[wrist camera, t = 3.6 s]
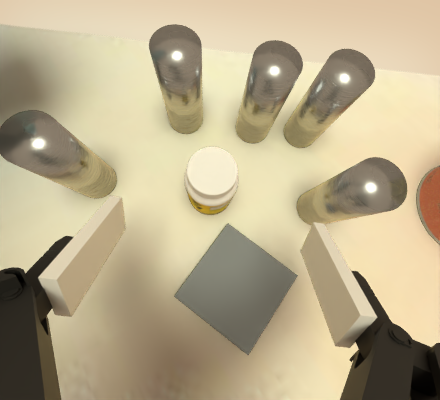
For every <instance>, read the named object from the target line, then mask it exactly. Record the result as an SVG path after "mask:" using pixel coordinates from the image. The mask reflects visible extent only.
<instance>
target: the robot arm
mask: <svg viewBox="0 0 440 400" xmlns="http://www.w3.org/2000/svg"><path fill="white" fill-rule="evenodd" d="M125 229H126V227H125V219H124V210H123V202H122V197H117V196H110V197H109V198H108V199H107V200H106V201H105V202H104V203H103V204H102V206H101V207H100V208H99V209H98V210H97V211H96V212H95V214H94V215H93V216H92V217H91V218H90V219H89V220H88V221H87V223H86V224H85V225H84V226H83V227H82V228H81V229H80V231H79V232H78V233H77V234H76V235H75V236H74V237H71V236H65V237H63V238H61V239H60V240H58V241H56V242H55V243H54V244H53V245H52V246H51V247H50V249H49V251H47V252H46V253H45V254H44V255H43V257H41V258H40V259H39V260H38V261H37V262H36V263H35V264H34V265H33V266H32V267H31V268H30V269H29V270H28V272H27V273H26V274H25V272H24V270H23V269H21V268H8V269H4V270H1V271H0V400H61V396H60V390H59V383H58V377H57V371H56V365H55V359H54V352H53V346H52V340H51V334H50V327H49V321H48V318H47V314H48V313H49V312H50V310H51V309H53V311H54V313H55V315H61V316H70V317H71V316H72V315H73V313H74V312H75V310H76V308H77V307H78V305H79V304H80V302H81V300H82V299H83V297H84V295H85V294H86V292H87V291H88V289H89V287H90V286H91V284H92V283H93V281H94V279H95V278H96V276H97V274H98V273H99V271H100V270H101V268H102V266H103V265H104V263H105V261H106V260H107V258H108V257H109V255H110V253H111V252H112V250H113V249H114V247H115V245H116V244H117V242H118V240H119V239H120V237H121V236H122V234H123V232H124V231H125ZM301 254H302V256H303V259H304V262H305V265H306V267H307V270H308V273H309V275H310V278H311V281H312V284H313V286H314V289H315V292H316V295H317V297H318V300H319V303H320V306H321V308H322V311H323V314H324V317H325V319H326V322H327V325H328V328H329V330H330V333H331V336H332V339H333V341H334V344H335V346H339V347H348V348H350V347H351V346H352V345H353V344H354V343H355V342H356V344H357V346H358V348H359V350H358V351H357V352H356V353H355V354H354V355H353V356H352V357H351V358H350V361H351V362H352V361H353V363H352V366H351V369H350V372H349V375H348V378H347V381H346V384H345V387H344V390H343V393H342V395H341V398H340V400H440V343H436V344H435V345H434V346H433V347H429V346H427V345H425V344H422V343H420V342H417V341H415V340H413V339H412V338H411V337H410V335H409V334H408V333H407V332H406V331H405V330H403V329H402V328H401V327H400V326H398V325H396V324H394V323H392V322H391V320H390V319H389V317H388V315H387V314H386V312H385V310H384V309H383V307H382V306H381V304H380V302H379V301H378V299H377V297H376V296H375V294H374V293H373V291H372V289H370V286H369V284H368V283H367V281H366V279H365V278H364V277H363V276H362V275H361V274H359V273H358V272H357V271H351V270H350V268H349V266H348V265H347V263H346V261H345V259H344V258H343V256H342V254H341V252H340V251H339V249H338V247H337V245H336V244H335V242H334V240H333V238H332V237H331V235H330V233H329V231H328V229H327V228H326V226H325V224H323V223H315V222H313V224H312V226H311V229H310V231H309V233H308V235H307V238H306V240H305V242H304V244H303V247H302V249H301Z"/></svg>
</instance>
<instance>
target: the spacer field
mask: <svg viewBox="0 0 440 400" xmlns="http://www.w3.org/2000/svg"><path fill="white" fill-rule="evenodd" d="M149 49H150V53H151V57H152V60H153V64H154V67H155V71H156V74H157V78H158V82H159V85H160V89H161V92H162V96H163V99H164V103H165V107H166V110H167V114H168V117H169V121H170V124H171V126H172V127H173V128H174V129H175V130H176V131H177V132H179V133H183V134H189V133H193V132H195V131H197V130H198V129H199V128H200V127H201V125H202V122H203V103H202V49H201V41H200V39H199V37H198V35H197V34H196V33H195V32H194V31H193V30H191V29H190V28H188V27H186V26H182V25H167V26H164V27H162V28H160V29H158V30H157V31H156V32H155V33H154V34H153V35H152V37H151V39H150V42H149ZM302 67H303V62H302V58H301V56H300V54H299V52H298V51H297V50H296V49H295V48H294V47H293V46H291V45H290V44H288V43H285V42H283V41H276V40H275V41H267V42H265V43H263V44H261V45H260V46H258V47H257V49H256V50H255V52H254V54H253V58H252V62H251V66H250V70H249V74H248V78H247V82H246V86H245V90H244V94H243V98H242V102H241V106H240V110H239V114H238V118H237V122H236V132H237V134H238V136H239V137H240V138H241V139H242V140H244V141H245V142H248V143H258V142H260V141H262V140H263V139H264V138H265V137H266V136H267V134H268V132H269V130H270V128H271V127H272V125H273V123H274V121H275V119H276V117H277V115H278V114H279V112H280V110H281V108H282V106H283V104H284V103H285V101H286V99H287V97H288V95H289V93H290V92H291V90H292V88H293V86H294V84H295V82H296V81H297V79H298V77H299V75H300V73H301V71H302ZM374 79H375V70H374V67H373V64H372V63H371V61H370V60H369V59H368V58H367V57H366V56H365V55H364V54H362V53H360V52H358V51H356V50H352V49H341V50H338V51H335V52H334V53H333V54H332V55H331V56H330V57H329V59H328V60H327V62H326V63H325V65H324V66H323V68H322V69H321V71H320V72H319V74H318V75H317V77H316V78H315V80H314V81H313V83H312V85H311V86H310V88H309V89H308V91H307V92H306V94H305V95H304V97H303V98H302V100H301V101H300V103H299V105H298V106H297V108H296V109H295V111H294V112H293V114H292V115H291V117H290V118H289V120H288V122H287V123H286V125H285V127H284V136H285V138H286V140H287V141H288V142H289V143H290V144H291V145H293V146H295V147H298V148H304V147H307V146H309V145H311V144H312V143H313V142H314V141H315V140H316V139H317V138H318V137H319V136H320V135H321V134H322V133H323V132H324V131H325V130H326V129H327V128H328V127H329V126H330V125H331V124H332V123H333V122H334V121H335V120H336V119H337V118H338V117H339V116H340V115H341V114H342V113H343V112H344V111H345V110H346V109H347V108H348V107H349V106H350V105H352V104H353V103H354V102H355V101H356V100H357V99H358V98H359V97H360V96H361V95H362V94H363V93H364V92H365V91H366V90H367V89H368V88H369V87H370V86H371V85H372V83H373V81H374ZM0 154H1V156H2V157H3V158H4V159H6V160H7V161H9V162H11V163H13V164H15V165H18V166H20V167H22V168H24V169H27V170H29V171H31V172H33V173H36V174H38V175H40V176H43V177H45V178H47V179H49V180H52V181H54V182H56V183H58V184H61V185H63V186H65V187H67V188H70V189H72V190H74V191H77V192H79V193H81V194H83V195H86V196H88V197H90V198H102V197H105V196H107V195H108V194H110V193H111V192H112V191H113V189H114V188H115V186H116V182H117V177H116V174H115V172H114V170H113V169H112V168H111V167H110V166H109V165H107V164H106V163H105V162H104V161H103V160H102V159H100V158H99V157H98V156H97V155H96V154H95V153H93V152H92V151H91V150H90V149H89V148H88V147H86V146H85V145H84V144H83V143H82V142H81V141H79V140H78V139H77V138H76V137H75V136H74V135H72V134H71V133H70V132H69V131H68V130H67V129H65V128H64V127H63V126H62V125H61V124H60V123H58V122H57V121H56V120H55V119H54V118H53V117H51V116H50V115H48V114H47V113H44V112H41V111H36V110H29V111H23V112H20V113H17V114H15V115H13V116H12V117H10V118H9V119H7V120H6V121H5V122H4V123H3V125H2V126H1V128H0ZM406 195H407V183H406V180H405V177H404V175H403V173H402V172H401V170H400V169H399V168H398V167H397V166H396V165H395V164H393V163H392V162H390V161H388V160H386V159H383V158H378V157H373V158H368V159H365V160H363V161H362V162H360V163H358V164H356V165H354V166H353V167H351V168H349V169H347V170H345V171H344V172H342V173H340V174H338V175H336V176H335V177H333V178H331V179H329V180H327V181H326V182H324V183H322V184H320V185H318V186H317V187H315V188H313V189H311V190H309V191H308V192H306V193H304V194H303V195H301V196H300V198H299V199H298V202H297V211H298V214H299V216H300V218H301V219H302V220H303V221H304V222H306V223H307V224H310V225H312V224H313V222H315V223H323V224H327V223H332V222H337V221H342V220H347V219H352V218H357V217H362V216H367V215H372V214H377V213H382V212H387V211H391V210H394V209H396V208H398V207H399V206H400V205H401V204H402V203H403V202H404V200H405V198H406Z"/></svg>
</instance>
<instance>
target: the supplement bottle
mask: <svg viewBox="0 0 440 400" xmlns="http://www.w3.org/2000/svg"><path fill="white" fill-rule="evenodd" d="M184 181H185V187H186V190H187V193H188V196H189V200H190V202H191V204H192V206H193V207H194V208H195V209H196V210H197V211H199V212H200V213H202V214H206V215H215V214H218V213H220V212H222V211H223V210H224V209H225V208H226V207H227V206H228V205H229V203H230V201H231V199H232V198H233V196H234V194H235V193H236V190H237V187H238V167H237V163H236V161H235V159H234V158H233V156H232V155H231V154H230V153H229V152H227V151H226V150H224V149H222V148H219V147H205V148H202V149H200V150H198V151H196V152H195V153H194V154H193V155H192V156H191V158H190V159H189V161H188V164H187V169H186V172H185V178H184Z"/></svg>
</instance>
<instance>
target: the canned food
mask: <svg viewBox="0 0 440 400" xmlns="http://www.w3.org/2000/svg"><path fill="white" fill-rule="evenodd" d="M417 209H418V213H419V216H420V219H421V221H422V223H423V225H424V227H425V228H426V230H427V231H428V233H429V234H430V235H431V237H432V238H433V239H434V240H435V241H436V242H437V243H439V244H440V166H438V167H436V168H434V169H432V170H430V171H429V172H428V173H427V174H426V175H425V176H424V177H423V179H422V180H421V182H420V184H419V187H418V191H417Z"/></svg>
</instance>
